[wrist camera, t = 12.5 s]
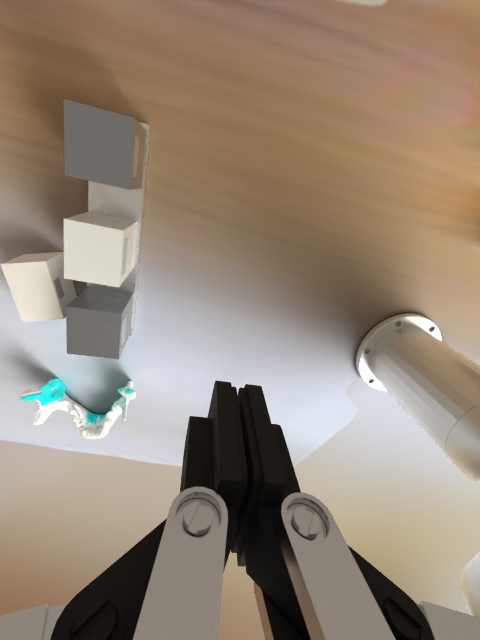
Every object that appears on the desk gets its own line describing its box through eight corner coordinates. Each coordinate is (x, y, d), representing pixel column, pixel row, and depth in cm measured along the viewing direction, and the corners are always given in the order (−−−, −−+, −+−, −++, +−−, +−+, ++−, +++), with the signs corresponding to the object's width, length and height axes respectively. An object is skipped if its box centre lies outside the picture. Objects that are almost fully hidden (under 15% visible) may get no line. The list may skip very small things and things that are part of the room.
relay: (65, 251, 32) (46, 261, 28) (79, 302, 35) (64, 318, 31) (24, 253, 32) (-1, 264, 28) (42, 305, 34) (21, 322, 30)
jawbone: (58, 429, 41) (16, 462, 32) (58, 372, 41) (17, 389, 32) (147, 427, 43) (132, 458, 33) (148, 372, 42) (133, 388, 33)
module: (137, 221, 30) (123, 230, 25) (133, 268, 32) (119, 287, 26) (89, 211, 29) (62, 218, 24) (88, 260, 31) (63, 278, 26)
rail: (150, 127, 28) (136, 109, 22) (133, 330, 37) (119, 363, 30) (94, 112, 27) (61, 89, 21) (90, 324, 36) (65, 357, 29)
